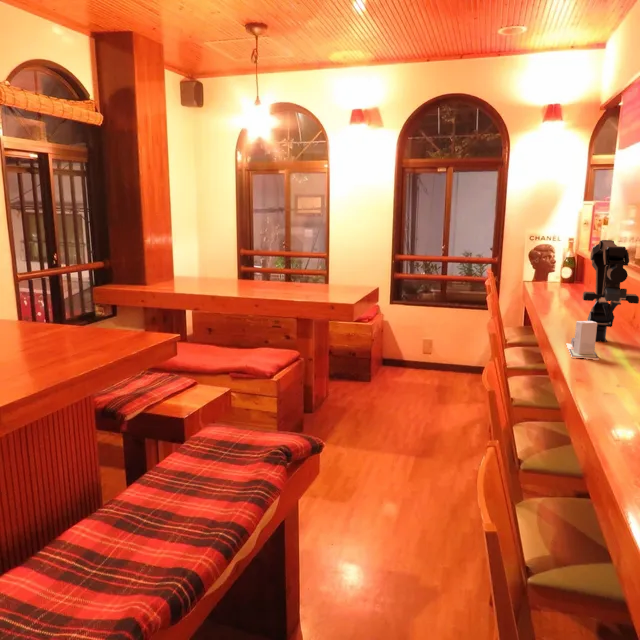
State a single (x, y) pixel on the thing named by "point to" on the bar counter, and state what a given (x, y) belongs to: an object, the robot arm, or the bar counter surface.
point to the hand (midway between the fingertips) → (607, 319)
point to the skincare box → (585, 337)
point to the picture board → (573, 354)
